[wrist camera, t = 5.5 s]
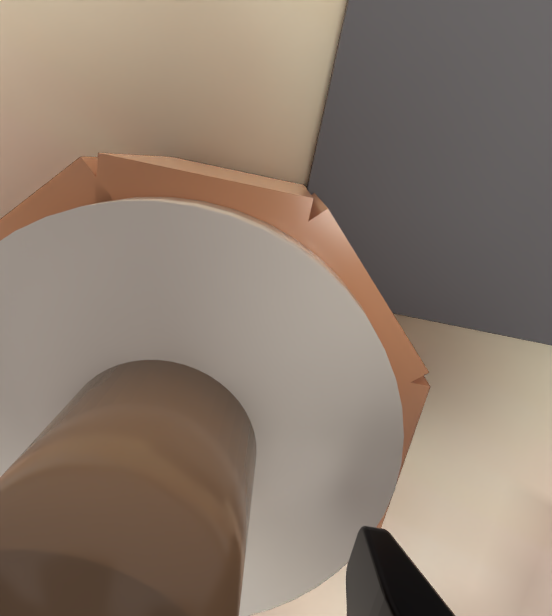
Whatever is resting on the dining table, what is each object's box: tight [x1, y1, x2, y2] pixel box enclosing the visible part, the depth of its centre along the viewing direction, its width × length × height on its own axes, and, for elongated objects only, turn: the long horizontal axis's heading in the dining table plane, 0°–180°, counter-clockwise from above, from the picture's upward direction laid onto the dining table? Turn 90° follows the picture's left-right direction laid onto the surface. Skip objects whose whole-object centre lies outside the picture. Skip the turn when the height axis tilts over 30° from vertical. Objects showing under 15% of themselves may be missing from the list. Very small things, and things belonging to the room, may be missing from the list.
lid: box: [0, 197, 404, 616], centre depth 7 cm, size 9×9×5 cm
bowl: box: [0, 153, 430, 528], centre depth 12 cm, size 10×10×5 cm
